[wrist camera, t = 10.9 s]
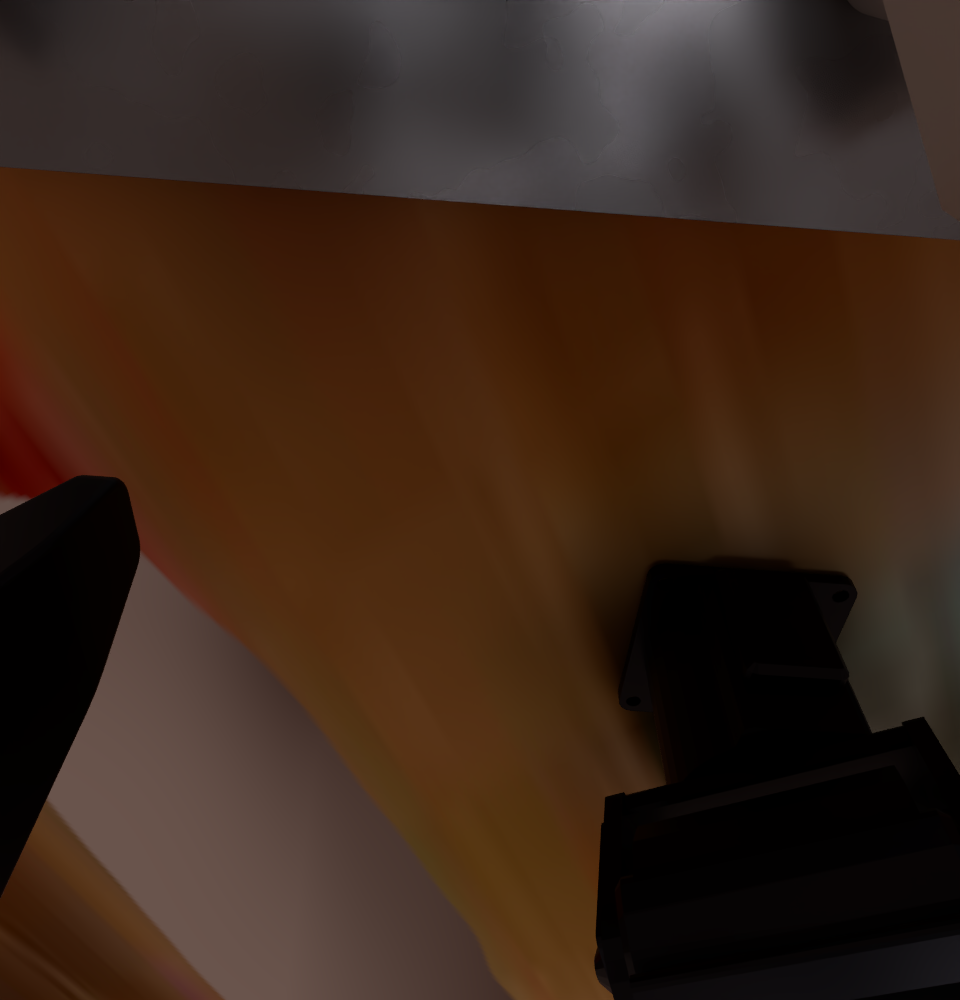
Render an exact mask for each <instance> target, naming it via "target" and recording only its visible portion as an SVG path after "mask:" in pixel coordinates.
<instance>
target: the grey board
mask: <svg viewBox="0 0 960 1000" xmlns="http://www.w3.org/2000/svg"><path fill="white" fill-rule="evenodd" d="M0 167H12V168H25V169H38V170H51V171H64V172H77V173H90V174H103V175H116V176H130V177H143V178H156V179H169V180H182V181H195V182H208V183H221V184H234V185H247V186H260V187H273V188H286V189H300V190H313V191H326V192H339V193H352V194H365V195H378V196H391V197H404V198H417V199H430V200H443V201H456V202H470V203H483V204H496V205H509V206H522V207H535V208H548V209H561V210H574V211H587V212H600V213H613V214H626V215H640V216H653V217H666V218H679V219H692V220H705V221H718V222H731V223H744V224H757V225H770V226H783V227H796V228H809V229H823V230H836V231H849V232H862V233H875V234H888V235H901V236H914V237H927V238H940V239H953V240H960V221H958V220H957V219H955V218H954V217H952V216H951V215H949V214H948V213H946V212H945V211H943V210H942V209H941V205H940V202H939V198H938V195H937V191H936V188H935V184H934V180H933V177H932V173H931V170H930V166H929V163H928V159H927V156H926V152H925V149H924V145H923V141H922V138H921V134H920V131H919V127H918V124H917V120H916V117H915V113H914V110H913V106H912V102H911V99H910V95H909V92H908V88H907V85H906V81H905V78H904V74H903V71H902V67H901V63H900V60H899V56H898V53H897V49H896V46H895V42H894V39H893V35H892V32H891V28H890V24H889V21H887V20H883V19H880V18H876V17H873V16H869V15H866V14H863V13H861V12H859V11H858V10H856V9H855V8H854V7H853V6H852V5H851V4H850V3H849V2H848V0H0Z"/></svg>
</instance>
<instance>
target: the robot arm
mask: <svg viewBox="0 0 960 1000" xmlns="http://www.w3.org/2000/svg"><path fill="white" fill-rule="evenodd" d="M139 558H140V541H139V536H138V532H137V528H136V523H135V519H134V515H133V510H132V506H131V502H130V497H129V493H128V490H127V487H126V486H125V484H124V482H123V481H121V480H120V479H118V478H116V477H104V476H90V475H81V476H76V477H74V478H72V479H70V480H68V481H66V482H64V483H62V484H60V485H58V486H56V487H54V488H52V489H50V490H48V491H46V492H44V493H42V494H40V495H38V496H36V497H34V498H32V499H31V500H29V501H27V502H25V503H23V504H21V505H19V506H17V507H15V508H13V509H11V510H9V511H7V512H5V513H3V514H1V515H0V898H1V896H2V893H3V891H4V889H5V887H6V885H7V883H8V881H9V878H10V876H11V874H12V872H13V870H14V868H15V866H16V863H17V861H18V859H19V857H20V855H21V853H22V850H23V848H24V846H25V844H26V842H27V840H28V838H29V835H30V833H31V831H32V829H33V827H34V825H35V823H36V820H37V818H38V816H39V814H40V812H41V810H42V808H43V805H44V803H45V801H46V799H47V797H48V795H49V793H50V790H51V788H52V786H53V784H54V782H55V779H56V777H57V775H58V773H59V771H60V769H61V767H62V765H63V762H64V760H65V758H66V756H67V754H68V752H69V750H70V747H71V745H72V743H73V741H74V739H75V737H76V735H77V732H78V730H79V728H80V726H81V724H82V722H83V720H84V718H85V715H86V713H87V711H88V709H89V706H90V704H91V702H92V699H93V697H94V695H95V692H96V690H97V687H98V684H99V682H100V679H101V676H102V673H103V670H104V667H105V664H106V661H107V658H108V655H109V652H110V649H111V646H112V643H113V640H114V637H115V634H116V631H117V628H118V625H119V622H120V619H121V615H122V612H123V609H124V606H125V603H126V600H127V597H128V594H129V591H130V588H131V585H132V582H133V579H134V576H135V573H136V570H137V566H138V563H139ZM663 578H669V580H667V581H665V582H660V581H659V580H661V579H663ZM841 590H843V591H842V592H840V593H837V594H834V593H836V592H838V591H841ZM856 598H857V591H856V588H855V586H854V584H853V582H852V580H850V579H849V578H848V577H844V576H837V575H822V574H808V573H794V572H779V571H765V570H751V569H736V568H722V567H707V566H693V565H679V564H659V565H656V566H654V567H653V568H652V569H650V570H649V572H648V574H647V578H646V582H645V586H644V590H643V594H642V598H641V602H640V606H639V610H638V614H637V618H636V622H635V626H634V630H633V634H632V638H631V642H630V646H629V650H628V654H627V658H626V662H625V666H624V670H623V674H622V678H621V682H620V686H619V690H618V697H619V704H620V705H621V707H622V708H624V709H626V710H630V711H644V712H653V713H654V719H655V724H656V730H657V736H658V741H659V747H660V752H661V758H662V763H663V769H664V774H665V780H666V785H664V786H660V787H656V788H652V789H648V790H644V791H640V792H636V793H632V794H628V795H625V793H624V792H623V793H619V794H615V795H611V796H607V797H605V810H604V823H602V825H601V841H600V860H599V879H598V899H597V918H596V941H597V946H598V947H597V951H596V954H595V959H594V964H595V971H596V975H597V978H598V980H599V982H600V984H601V985H603V986H604V987H605V988H606V989H607V990H608V991H610V992H611V993H612V994H613V997H614V1000H960V775H959V774H958V772H957V770H956V769H955V767H954V765H953V764H952V762H951V760H950V759H949V757H948V756H947V754H946V752H945V751H944V749H943V747H942V746H941V744H940V743H939V741H938V739H937V738H936V736H935V734H934V733H933V731H932V730H931V728H930V726H929V725H928V723H927V721H926V720H925V718H924V717H920V718H916V719H912V720H908V721H904V722H902V725H903V726H899V727H895V728H891V729H887V730H883V731H879V732H875V733H872V732H871V729H870V727H869V725H868V723H867V720H866V718H865V716H864V714H863V711H862V709H861V707H860V705H859V702H858V700H857V698H856V696H855V693H854V691H853V689H852V687H851V684H850V682H849V680H848V678H849V671H848V669H847V667H846V665H845V662H844V660H843V658H842V656H841V654H840V651H839V649H838V647H837V645H836V641H837V639H838V637H839V634H840V632H841V630H842V628H843V626H844V624H845V621H846V619H847V617H848V615H849V613H850V611H851V609H852V606H853V604H854V602H855V600H856ZM634 696H635V697H634Z"/></svg>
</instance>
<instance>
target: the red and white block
mask: <svg viewBox="0 0 960 1000" xmlns="http://www.w3.org/2000/svg"><path fill="white" fill-rule="evenodd" d="M848 2H849V3H850V4H851V5H852V6H853V7H854V8H855V9H856V10H858V11H859V12H861V13H863V14H866V15H869V16H873V17H876V18H880V19H883V20H887V21H889V24H890V28H891V32H892V35H893V39H894V42H895V46H896V49H897V53H898V56H899V60H900V63H901V67H902V71H903V74H904V78H905V81H906V85H907V88H908V92H909V95H910V99H911V102H912V106H913V110H914V113H915V117H916V120H917V124H918V127H919V131H920V134H921V138H922V141H923V145H924V149H925V152H926V156H927V159H928V163H929V166H930V170H931V173H932V177H933V180H934V184H935V188H936V191H937V195H938V198H939V202H940V205H941V209H942V210H943V211H945V212H946V213H948V214H949V215H951V216H952V217H954V218H955V219H957V220H958V221H960V0H848Z"/></svg>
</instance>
